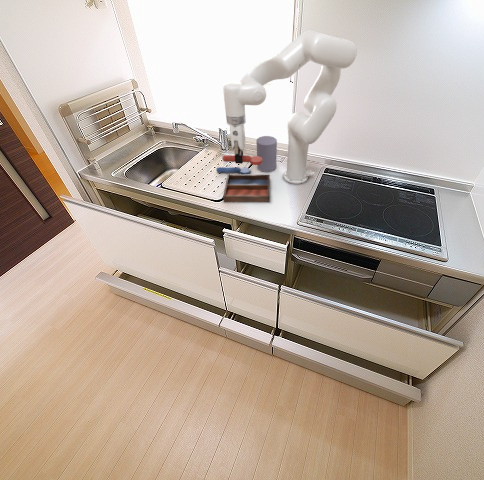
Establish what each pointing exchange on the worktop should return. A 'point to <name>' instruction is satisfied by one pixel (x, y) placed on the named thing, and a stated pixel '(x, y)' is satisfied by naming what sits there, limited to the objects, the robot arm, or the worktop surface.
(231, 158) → the red spoon
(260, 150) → the container
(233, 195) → the cutlery tray
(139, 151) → the worktop surface
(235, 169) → the blue spoon
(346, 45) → the robot arm
